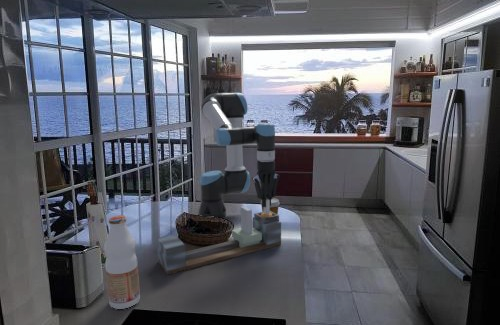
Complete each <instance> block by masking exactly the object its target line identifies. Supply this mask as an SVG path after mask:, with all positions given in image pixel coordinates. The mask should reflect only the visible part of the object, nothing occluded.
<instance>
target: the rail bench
mask: <svg viewBox="0 0 500 325" xmlns="http://www.w3.org/2000/svg"><path fill="white" fill-rule="evenodd" d="M261 213H263V212H262V211H261V212H255V213H253V215H254V216H252V227H253V228H254V229H256V230H258V231H259V232H261V233H262V240H260V243H258V244H254V245H250V246H246V247H242V248H241V247H240V246H239V241H237V240H235V241H234V239H233V240H228V241H224V242H220V243H215V244H212V245H208V246H202V247H200V248H195V249H190V250H187V251H186V245H185V244H184V242H183V241H182V240H181V239H180V238H179V237H178V236H177V235H176V234H174V233H173V234H168V235H163V236H159V237H156V245H157V246H156V247H157V259H158V261H159V262H160V263H159V262H158V263H159V265H160V264H161V265H162V266H161V265H160V266H161V268H162V269H163V268H164V269H165V270H164V269H163V270H164V272H165V271H166V272H167V273H166V272H165V273H166V274H167V275H168V274H169V275H171V274H170V273H172V274H175V273H174V272H176V273H179V272H178V271H180V272H183V271H182V270H184V271H186V269H187V270H190V268H191V269H194V268H199V267H202V266H205V265H210V264H214V263H217V262H221V261H224V260H228V259H231V258H235V257H239V256H244V255H246V254H247V255H248V254H252V253H254V252H258V251H261V250H262V251H263V250H265V249H270V248H273V247H278V246H281V245H282V222H281V221H280V215H279V214H278V215H277V214H275V213H273V212H271V211H270V213H272V216H269V217H265V218H264V217H262V216H261Z"/></svg>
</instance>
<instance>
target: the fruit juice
mask: <svg viewBox="0 0 500 325" xmlns="http://www.w3.org/2000/svg"><path fill="white" fill-rule="evenodd" d="M108 224H109V225H110V227H109V231H108V235H107V238H106V240H105V242H104V244H103V249H104V253H105V256H106V259H105V265H104V266H105V274H106V284H107V294H108V296H107V297H108V303H109V306H110V308H112V307H113V308H117V309H124V308H128V307H131V306H133V305H135V304H136V303H137V304H138V303H139V302H140V300H141V290H140V278H139V276H140V275H139V265H138V264H139V263H138V257H137V254H136V240H135V238H134V237H133V236H132V234H131V232H130V230H129V228H128V226H127V225H126V224H127V217H126V216H125V215H115V216H111V217H110V218H109V220H108ZM137 304H136V305H137ZM136 305H135V306H136ZM133 307H134V306H133ZM113 308H112V309H113ZM131 308H132V307H131ZM117 309H116V310H117ZM128 309H129V308H128ZM124 310H125V309H124Z"/></svg>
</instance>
